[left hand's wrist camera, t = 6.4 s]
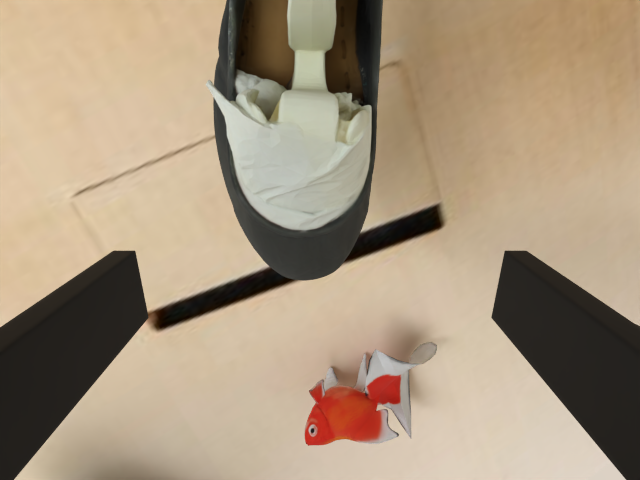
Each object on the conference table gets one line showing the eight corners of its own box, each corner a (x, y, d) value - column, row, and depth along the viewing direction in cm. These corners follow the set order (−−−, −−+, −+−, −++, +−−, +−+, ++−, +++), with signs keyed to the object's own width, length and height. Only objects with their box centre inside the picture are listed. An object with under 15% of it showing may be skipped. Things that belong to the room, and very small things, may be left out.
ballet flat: (238, 270, 23) (202, 353, 15) (189, -264, 14) (47, -708, 6) (363, 268, 23) (390, 349, 15) (388, -258, 14) (481, -676, 7)
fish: (268, 361, 33) (320, 462, 26) (399, 288, 38) (473, 355, 31) (290, 414, 40) (336, 505, 32) (398, 345, 44) (459, 412, 37)
